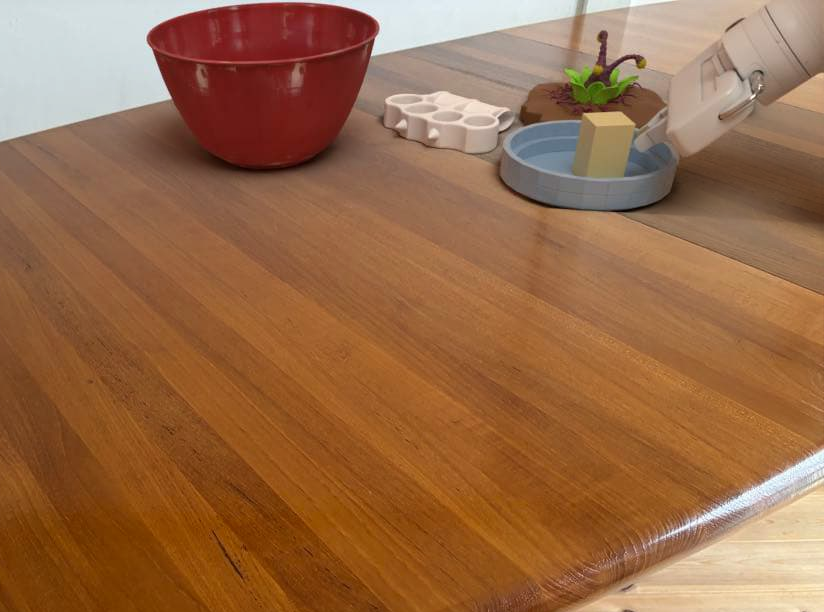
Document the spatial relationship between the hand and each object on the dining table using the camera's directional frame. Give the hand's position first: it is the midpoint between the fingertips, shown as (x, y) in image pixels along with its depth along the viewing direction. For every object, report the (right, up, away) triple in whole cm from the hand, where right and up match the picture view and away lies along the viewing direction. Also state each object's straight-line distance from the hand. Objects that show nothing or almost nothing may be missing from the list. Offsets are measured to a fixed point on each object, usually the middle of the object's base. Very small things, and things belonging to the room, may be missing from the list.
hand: (636, 143), depth 94 cm
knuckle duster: (-18, +8, +19) cm, 28 cm away
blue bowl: (-5, -3, +5) cm, 7 cm away
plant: (+3, +10, +22) cm, 25 cm away
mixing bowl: (-43, +4, +16) cm, 46 cm away
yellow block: (-3, -3, +4) cm, 6 cm away
